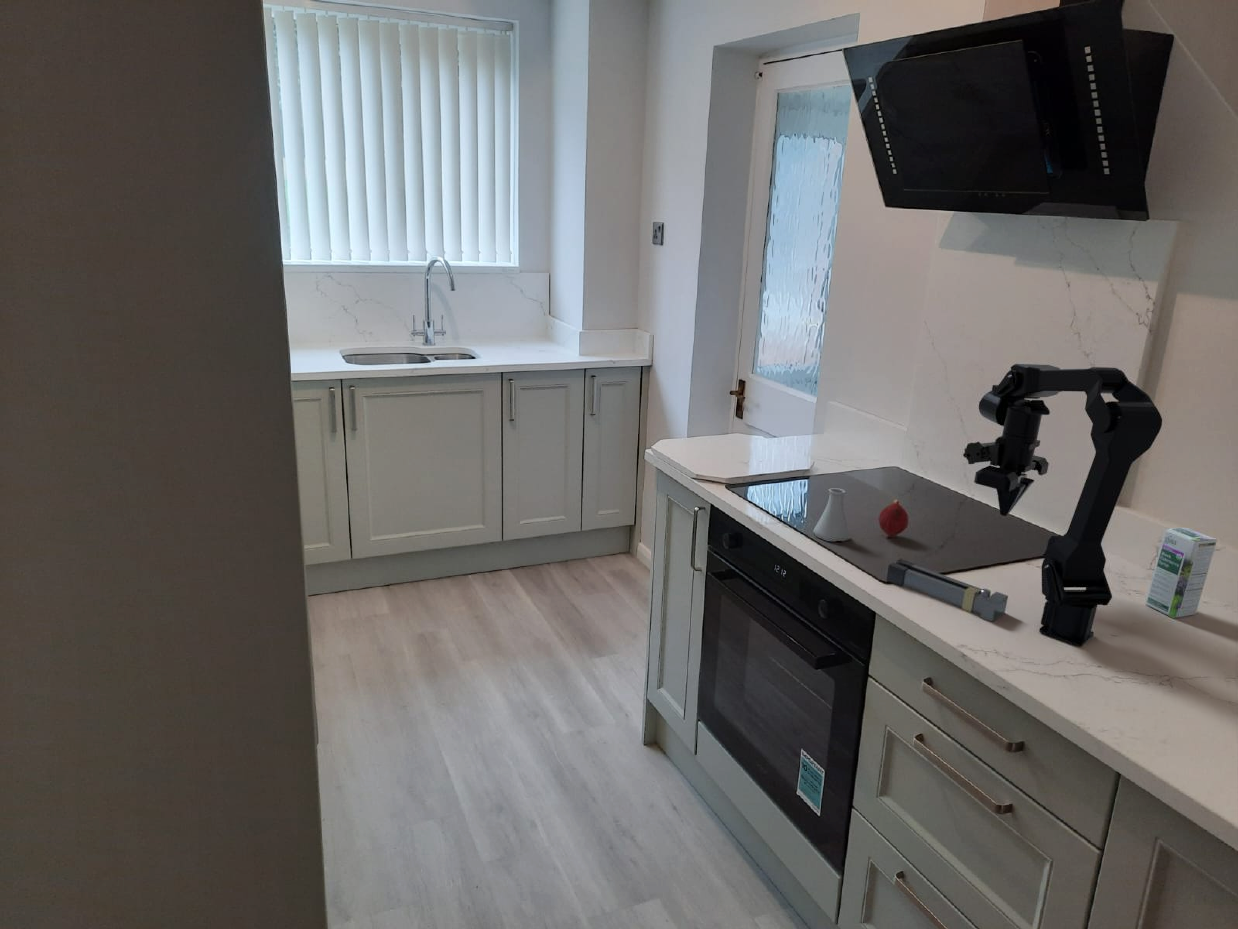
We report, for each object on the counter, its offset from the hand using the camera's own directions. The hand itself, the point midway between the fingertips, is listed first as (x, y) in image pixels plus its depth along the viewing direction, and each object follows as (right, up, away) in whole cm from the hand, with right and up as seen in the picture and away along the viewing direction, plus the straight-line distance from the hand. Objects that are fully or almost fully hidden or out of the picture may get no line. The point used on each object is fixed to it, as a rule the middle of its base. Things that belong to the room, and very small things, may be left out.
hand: (1003, 515), depth 157 cm
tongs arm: (-14, -13, -5) cm, 20 cm away
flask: (-27, -6, +18) cm, 33 cm away
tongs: (-14, -14, -7) cm, 21 cm away
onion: (-15, -6, +20) cm, 25 cm away
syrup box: (+26, -16, -7) cm, 32 cm away
